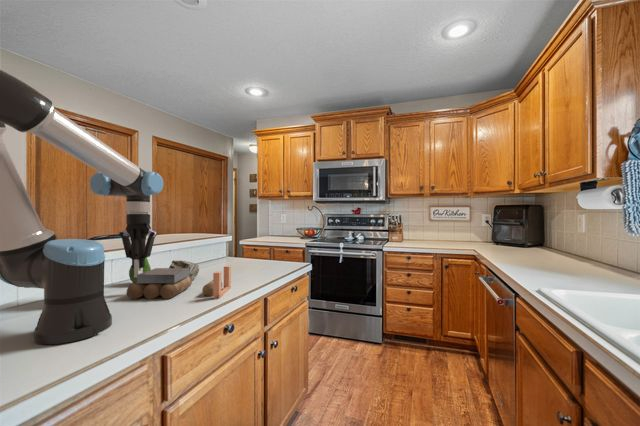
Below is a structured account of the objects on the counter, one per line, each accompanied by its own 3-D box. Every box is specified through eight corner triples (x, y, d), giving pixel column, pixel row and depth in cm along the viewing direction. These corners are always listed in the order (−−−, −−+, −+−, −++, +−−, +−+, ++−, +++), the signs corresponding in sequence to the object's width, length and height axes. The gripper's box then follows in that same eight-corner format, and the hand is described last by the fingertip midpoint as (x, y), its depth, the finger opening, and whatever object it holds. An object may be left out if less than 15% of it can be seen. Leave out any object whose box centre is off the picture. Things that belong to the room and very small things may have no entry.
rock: (188, 285, 116) (188, 261, 116) (164, 286, 115) (163, 262, 115) (202, 276, 135) (201, 255, 135) (180, 276, 133) (180, 255, 134)
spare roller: (202, 297, 102) (215, 296, 102) (201, 284, 102) (214, 283, 102) (211, 291, 110) (222, 290, 110) (210, 279, 110) (221, 278, 110)
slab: (174, 283, 100) (174, 274, 100) (137, 283, 100) (137, 274, 100) (189, 275, 112) (189, 268, 112) (156, 275, 112) (156, 268, 112)
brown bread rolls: (174, 298, 99) (174, 284, 99) (126, 299, 98) (126, 284, 98) (191, 288, 113) (191, 275, 113) (149, 288, 112) (149, 276, 112)
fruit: (154, 281, 123) (154, 254, 123) (144, 286, 116) (144, 257, 116) (135, 282, 123) (136, 254, 123) (124, 286, 115) (124, 257, 115)
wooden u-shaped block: (219, 298, 99) (219, 273, 99) (213, 298, 99) (213, 273, 99) (230, 288, 113) (230, 265, 113) (225, 288, 113) (225, 265, 113)
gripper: (161, 213, 109) (161, 274, 109) (127, 213, 109) (127, 274, 109) (150, 213, 102) (150, 278, 102) (113, 213, 102) (113, 279, 101)
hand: (138, 276), depth 105 cm, fingers closed
